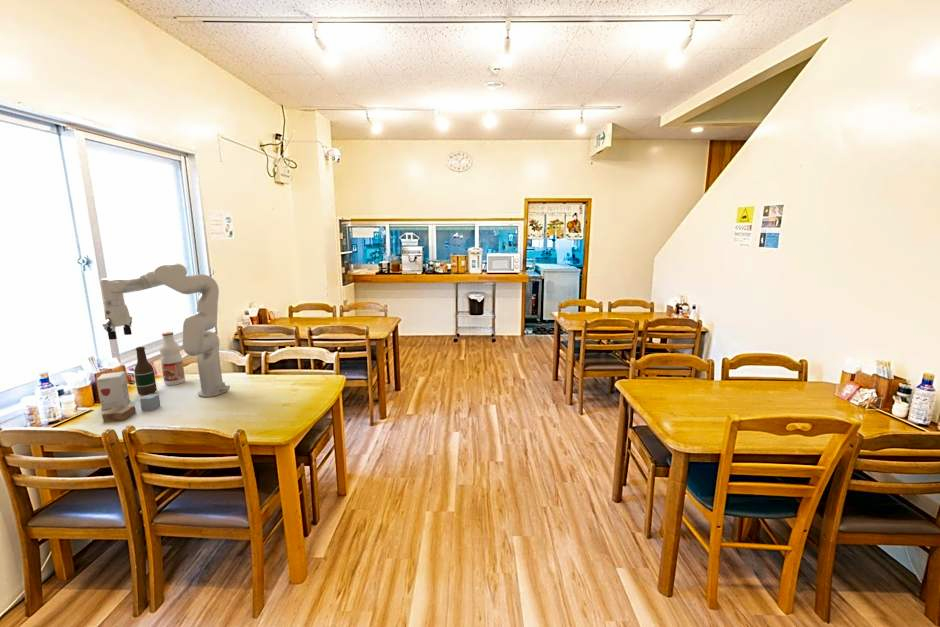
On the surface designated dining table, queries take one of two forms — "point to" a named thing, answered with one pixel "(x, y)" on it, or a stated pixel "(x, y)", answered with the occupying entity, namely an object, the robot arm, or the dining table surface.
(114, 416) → the walnut block
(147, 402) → the cube
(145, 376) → the beer bottle
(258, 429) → the dining table surface
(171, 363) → the fruit juice
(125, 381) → the supplement box
